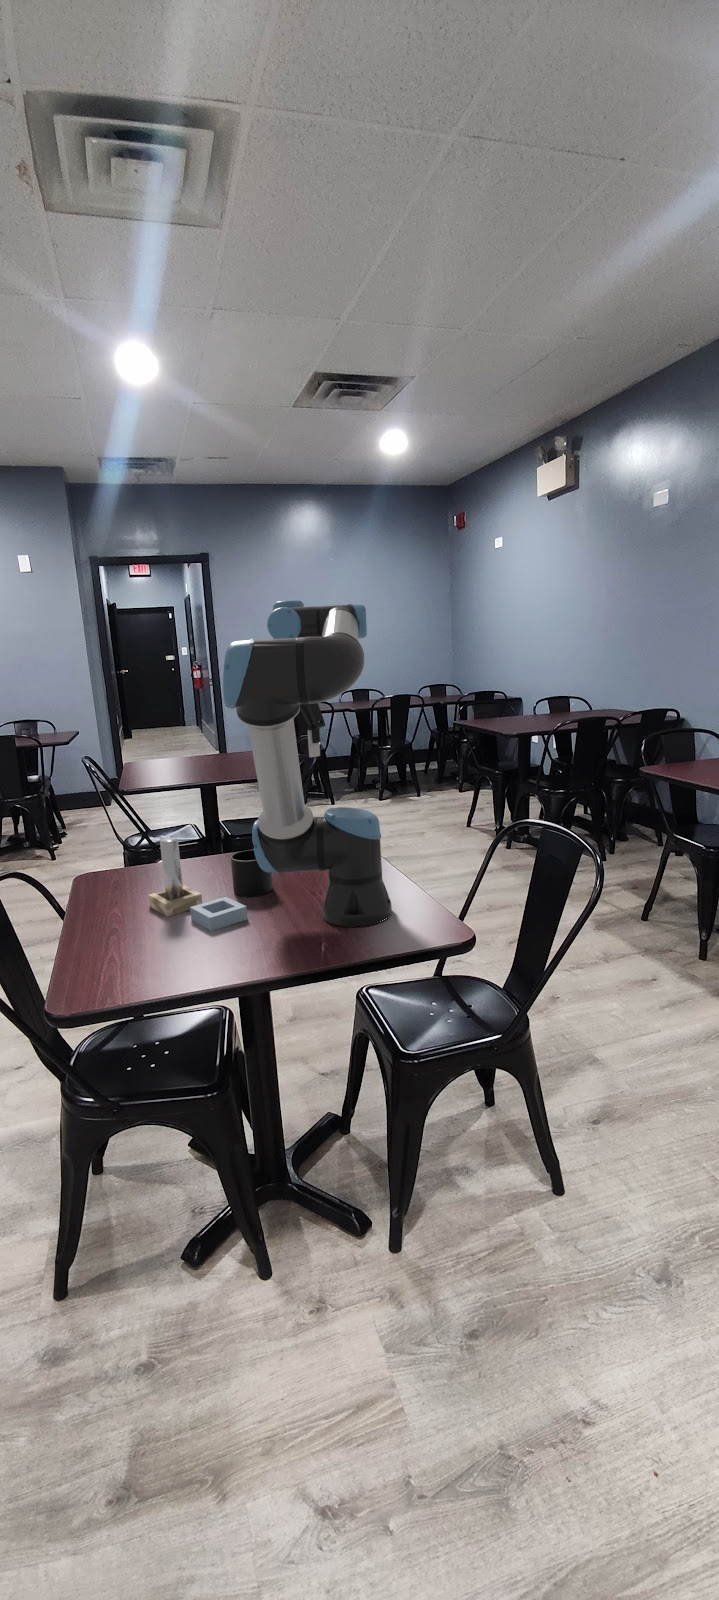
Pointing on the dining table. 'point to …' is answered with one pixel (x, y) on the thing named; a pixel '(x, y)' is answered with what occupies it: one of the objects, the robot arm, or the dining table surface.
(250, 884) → the mug
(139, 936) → the dining table surface
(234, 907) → the socket block
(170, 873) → the pin
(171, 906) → the block
